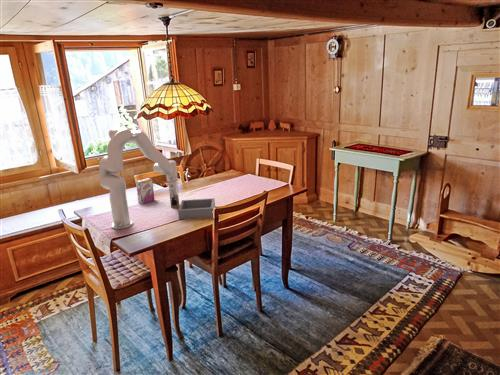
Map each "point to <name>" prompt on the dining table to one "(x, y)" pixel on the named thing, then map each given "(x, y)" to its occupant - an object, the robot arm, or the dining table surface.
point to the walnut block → (176, 201)
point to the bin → (196, 208)
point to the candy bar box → (145, 190)
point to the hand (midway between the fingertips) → (175, 203)
